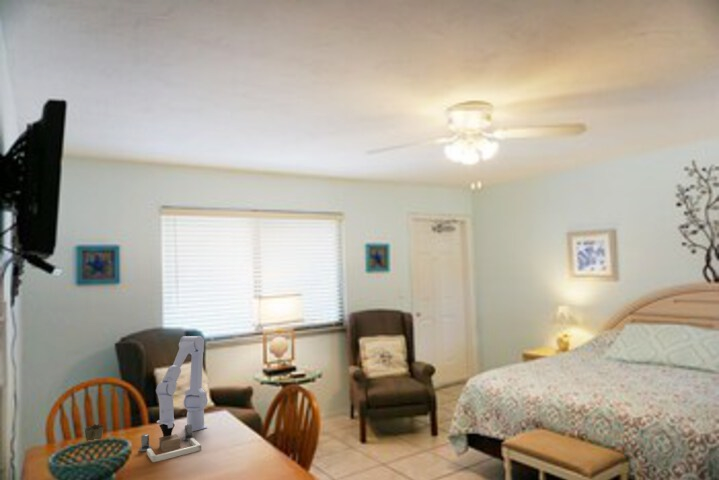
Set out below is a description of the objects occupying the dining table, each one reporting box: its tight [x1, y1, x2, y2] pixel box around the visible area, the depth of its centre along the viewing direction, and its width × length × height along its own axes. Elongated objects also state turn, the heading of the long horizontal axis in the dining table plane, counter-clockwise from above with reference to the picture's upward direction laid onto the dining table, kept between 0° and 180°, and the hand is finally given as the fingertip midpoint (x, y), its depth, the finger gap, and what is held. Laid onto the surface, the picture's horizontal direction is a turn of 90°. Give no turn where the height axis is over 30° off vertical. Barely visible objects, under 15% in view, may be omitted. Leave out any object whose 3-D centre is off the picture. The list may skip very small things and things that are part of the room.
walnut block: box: [158, 433, 181, 453], centre depth 203 cm, size 7×7×4 cm
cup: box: [84, 423, 104, 442], centre depth 211 cm, size 8×7×8 cm
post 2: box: [182, 424, 196, 442], centre depth 212 cm, size 5×5×6 cm
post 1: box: [138, 433, 153, 453], centre depth 202 cm, size 5×5×6 cm
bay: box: [146, 438, 202, 463], centre depth 197 cm, size 12×19×2 cm, turn 124°
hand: (167, 440), depth 207 cm, fingers closed
